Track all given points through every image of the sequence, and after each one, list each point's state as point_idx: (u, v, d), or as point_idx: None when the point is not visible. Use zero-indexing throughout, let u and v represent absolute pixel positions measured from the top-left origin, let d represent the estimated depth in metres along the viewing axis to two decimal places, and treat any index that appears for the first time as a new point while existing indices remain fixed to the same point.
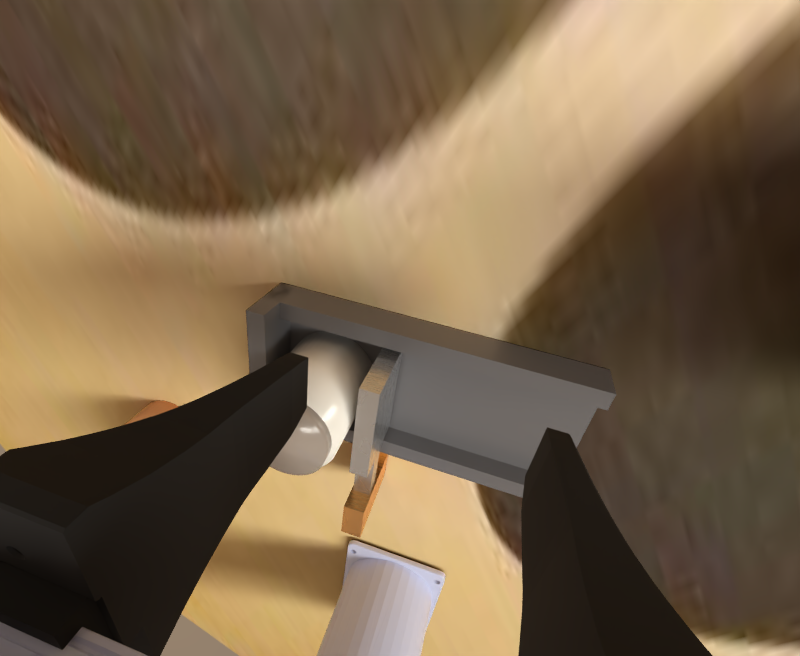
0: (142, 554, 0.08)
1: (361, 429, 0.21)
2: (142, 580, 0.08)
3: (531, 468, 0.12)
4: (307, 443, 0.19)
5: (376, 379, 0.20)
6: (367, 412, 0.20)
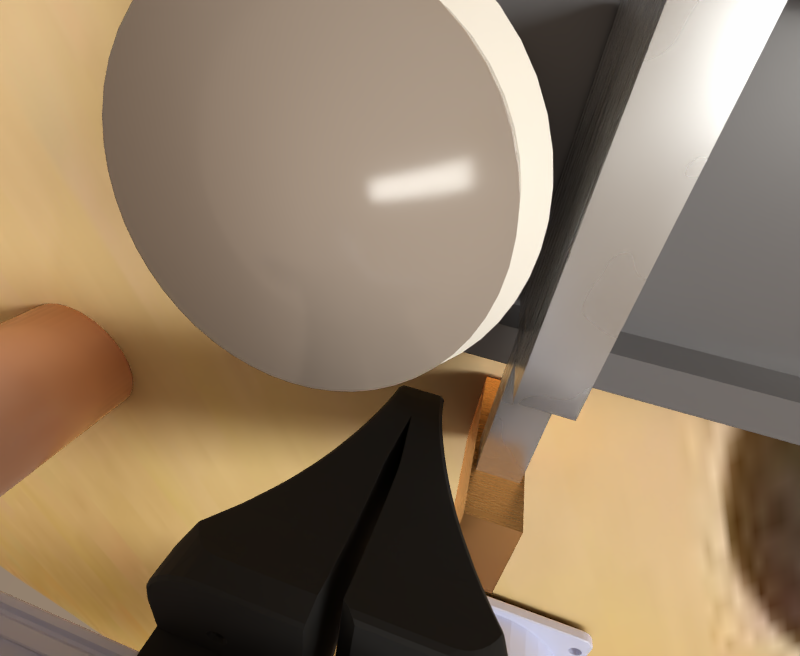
0: (326, 627, 0.07)
1: (622, 206, 0.05)
2: (321, 653, 0.07)
3: None
4: (419, 202, 0.04)
5: None
6: (688, 93, 0.04)
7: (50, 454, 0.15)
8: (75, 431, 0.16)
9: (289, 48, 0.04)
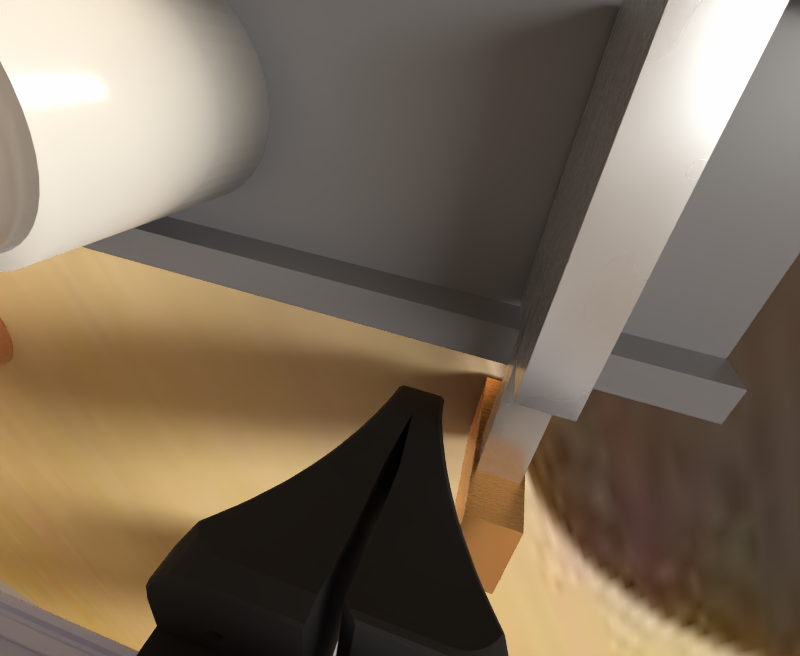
0: (325, 627, 0.07)
1: (623, 207, 0.05)
2: (320, 653, 0.07)
3: None
4: None
5: None
6: (689, 96, 0.04)
7: None
8: None
9: None
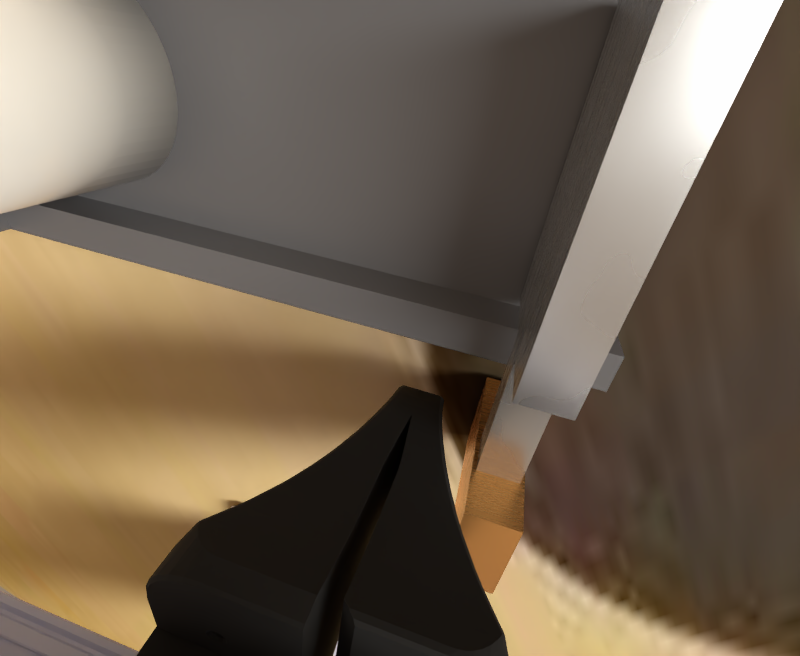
0: (325, 627, 0.07)
1: (620, 206, 0.05)
2: (320, 653, 0.07)
3: None
4: None
5: None
6: (685, 95, 0.04)
7: None
8: None
9: None
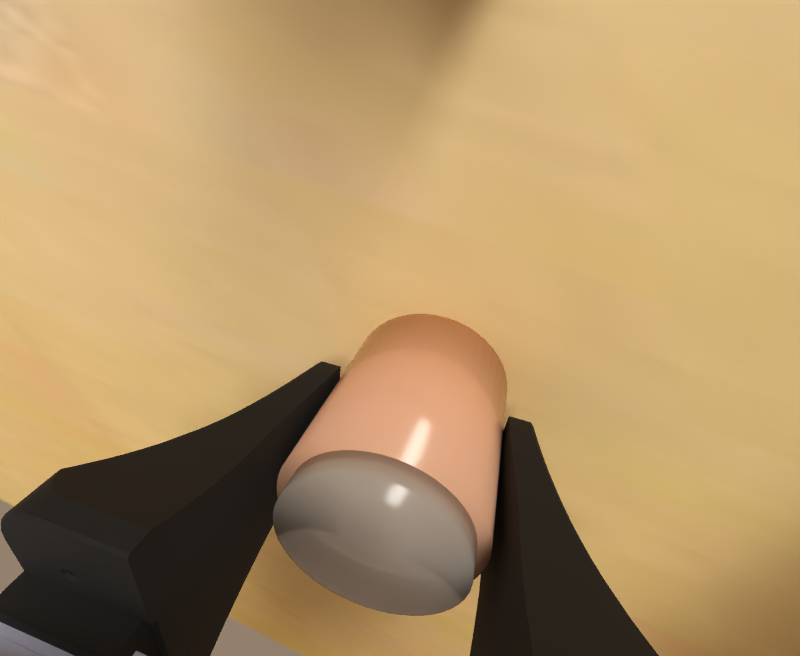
0: (192, 574, 0.07)
1: None
2: (191, 600, 0.08)
3: None
4: None
5: None
6: None
7: (495, 459, 0.10)
8: (494, 420, 0.11)
9: None
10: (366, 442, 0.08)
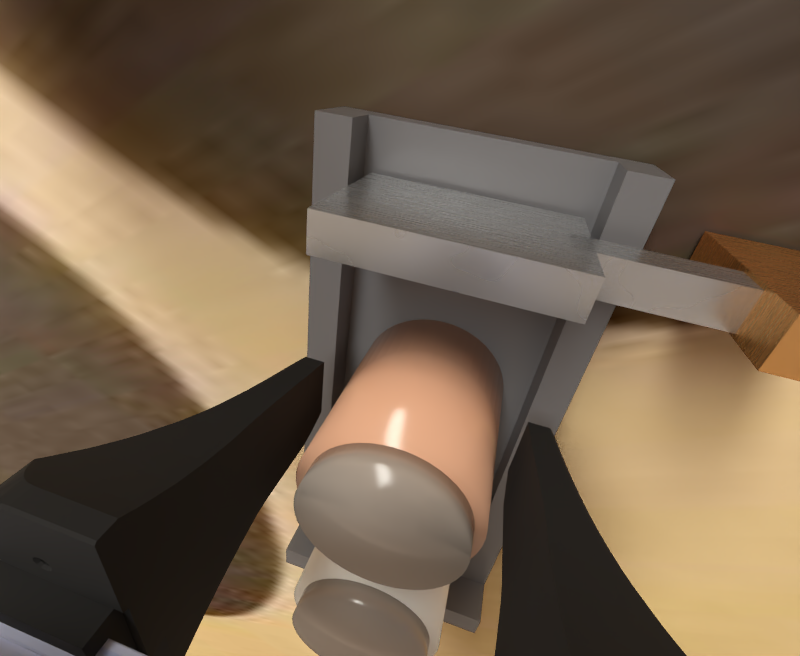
0: (166, 564, 0.07)
1: (422, 266, 0.08)
2: (166, 590, 0.08)
3: (513, 462, 0.12)
4: (346, 620, 0.13)
5: None
6: (365, 244, 0.09)
7: (488, 444, 0.11)
8: (486, 410, 0.12)
9: (314, 628, 0.14)
10: (367, 434, 0.10)
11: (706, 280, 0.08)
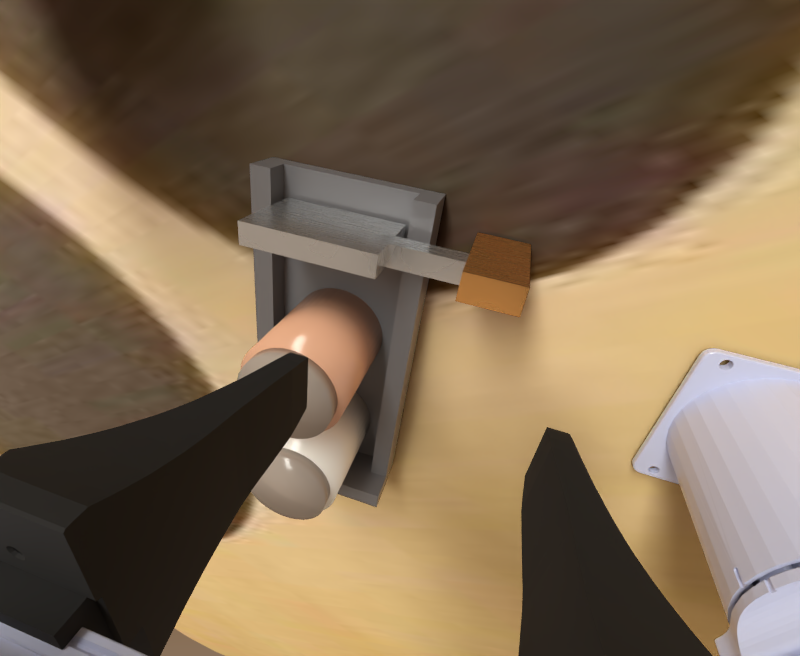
0: (142, 554, 0.08)
1: (296, 250, 0.17)
2: (142, 580, 0.08)
3: (531, 468, 0.12)
4: (276, 470, 0.21)
5: None
6: (267, 239, 0.17)
7: (351, 354, 0.19)
8: (355, 338, 0.20)
9: (258, 481, 0.22)
10: (273, 342, 0.18)
11: (440, 257, 0.16)
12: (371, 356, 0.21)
